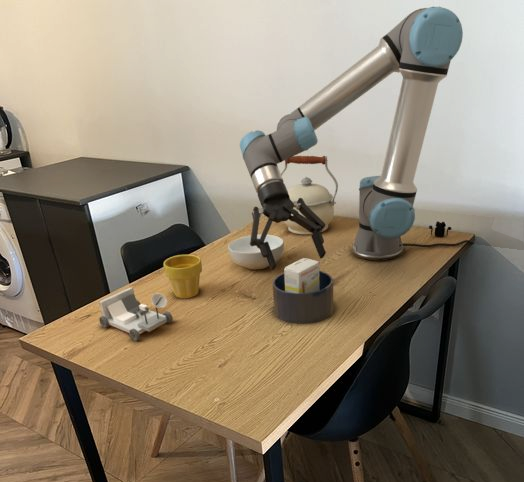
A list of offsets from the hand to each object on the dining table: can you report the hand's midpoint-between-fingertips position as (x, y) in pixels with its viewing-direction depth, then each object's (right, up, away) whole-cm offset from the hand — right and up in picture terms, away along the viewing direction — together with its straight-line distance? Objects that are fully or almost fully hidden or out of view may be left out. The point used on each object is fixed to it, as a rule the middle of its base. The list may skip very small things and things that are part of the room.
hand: (298, 261), depth 136 cm
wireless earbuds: (+49, +15, +42) cm, 66 cm away
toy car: (-40, -16, +3) cm, 43 cm away
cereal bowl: (-11, +4, +33) cm, 35 cm away
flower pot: (-30, -6, +18) cm, 36 cm away
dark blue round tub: (+2, -12, +4) cm, 12 cm away
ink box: (+1, -11, +4) cm, 12 cm away
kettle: (+6, +21, +59) cm, 63 cm away
